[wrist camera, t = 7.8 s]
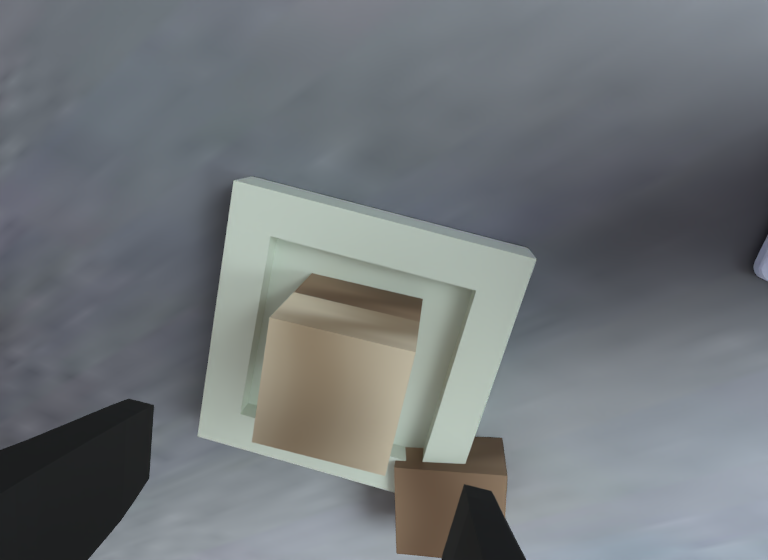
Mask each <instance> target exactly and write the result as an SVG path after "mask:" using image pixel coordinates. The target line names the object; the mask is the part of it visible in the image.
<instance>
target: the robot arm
mask: <svg viewBox="0 0 768 560" xmlns="http://www.w3.org/2000/svg"><path fill="white" fill-rule="evenodd" d="M753 267H754V272H755V274H756V275H757V276H758V277H760V278H762V279H764V280H766V281H768V236H767V238H766V240H765V242H764V244H763V246H762V248H761V250H760V252H759V254H758V256H757V258H756V260H755V263H754V266H753ZM153 411H154V405H151V404H147V403H143V402H140V401H136V400H132V399H127V400H124V401H121V402H118V403H116V404H113V405H111V406H108V407H106V408H103V409H101V410H98V411H96V412H94V413H91V414H89V415H87V416H84V417H82V418H79V419H77V420H75V421H72V422H70V423H67V424H65V425H63V426H60V427H58V428H55V429H53V430H50V431H48V432H46V433H43V434H41V435H38V436H36V437H33V438H31V439H28V440H26V441H23V442H21V443H18V444H15V445H13V446H10V447H7V448H5V449H2V450H0V560H88V559H89V557H90V556H91V555H92V554H93V553H94V552H95V550H96V549H97V548H98V547H99V546H100V545H101V543H102V542H103V541H104V540H105V539H106V537H107V536H108V535H109V534H110V533H111V532H112V530H113V529H114V528H115V527H116V526H117V524H118V523H119V522H120V521H121V519H122V518H123V517H124V515H125V514H126V512H127V511H128V509H129V508H130V506H131V505H132V504H133V502H134V501H135V499H136V498H137V496H138V495H139V493H140V491H141V490H142V488H143V487H144V485H145V484H146V482H147V481H148V479H149V472H150V457H151V441H152V426H153ZM442 560H526V558H525V556H524V554H523V553H522V551H521V549H520V547H519V545H518V543H517V541H516V539H515V537H514V535H513V533H512V531H511V529H510V527H509V525H508V523H507V521H506V519H505V517H504V515H503V513H502V511H501V508H500V506H499V504H498V502H497V500H496V498H495V496H494V494H493V493H492V491H490V490H486V489H482V488H478V487H474V486H470V485H466V484H464V486H463V489H462V492H461V496H460V499H459V502H458V505H457V509H456V512H455V515H454V518H453V522H452V525H451V528H450V531H449V535H448V538H447V541H446V544H445V548H444V551H443V554H442Z"/></svg>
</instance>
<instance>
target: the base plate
mask: <svg viewBox="0 0 768 560" xmlns="http://www.w3.org/2000/svg"><path fill="white" fill-rule="evenodd" d="M536 260H537V259H536V258H535V256H534V255H533V254H532V252H531V251H530V250H529V248H526V247H522V246H518V245H515V244H511V243H507V242H503V241H499V240H495V239H491V238H488V237H484V236H480V235H476V234H472V233H468V232H464V231H461V230H457V229H453V228H449V227H445V226H441V225H438V224H434V223H430V222H426V221H422V220H418V219H414V218H411V217H407V216H403V215H399V214H395V213H391V212H388V211H384V210H380V209H376V208H372V207H368V206H364V205H361V204H357V203H353V202H349V201H345V200H341V199H337V198H334V197H330V196H326V195H322V194H318V193H314V192H311V191H307V190H303V189H299V188H295V187H291V186H287V185H284V184H280V183H276V182H272V181H268V180H264V179H261V178H257V177H253V176H251V177H247V178H242V179H238V180H234V182H233V189H232V196H231V203H230V210H229V217H228V224H227V231H226V238H225V245H224V252H223V259H222V266H221V273H220V281H219V288H218V295H217V302H216V309H215V316H214V323H213V330H212V337H211V344H210V351H209V358H208V365H207V372H206V379H205V386H204V393H203V401H202V408H201V415H200V422H199V429H198V437H201V438H205V439H208V440H212V441H215V442H219V443H222V444H226V445H229V446H233V447H236V448H240V449H243V450H247V451H250V452H254V453H257V454H261V455H264V456H268V457H271V458H275V459H278V460H282V461H285V462H289V463H292V464H296V465H299V466H303V467H306V468H310V469H313V470H317V471H320V472H324V473H327V474H331V475H334V476H338V477H341V478H345V479H348V480H352V481H355V482H359V483H362V484H366V485H369V486H373V487H376V488H380V489H383V490H387V491H390V492H394V493H395V483H394V465H395V460H397V461H406V449H405V447H414V448H423V460H422V462H436V463H455V464H465V463H466V460H467V457H468V455H469V452H470V449H471V446H472V443H473V440H474V437H475V434H476V432H477V429H478V426H479V423H480V420H481V417H482V414H483V412H484V409H485V406H486V403H487V400H488V397H489V394H490V391H491V389H492V386H493V383H494V380H495V377H496V374H497V371H498V369H499V366H500V363H501V360H502V357H503V354H504V351H505V348H506V346H507V343H508V340H509V337H510V334H511V331H512V328H513V325H514V323H515V320H516V317H517V314H518V311H519V308H520V305H521V303H522V300H523V297H524V294H525V291H526V288H527V285H528V282H529V280H530V277H531V274H532V271H533V268H534V265H535V262H536ZM312 273H314V274H318V275H322V276H327V277H331V278H335V279H340V280H344V281H348V282H352V283H357V284H361V285H365V286H370V287H374V288H378V289H382V290H387V291H391V292H395V293H400V294H404V295H408V296H412V297H417V298H421V299H423V301H422V309H421V316H420V324H419V331H418V339H417V347H416V353H415V357H414V361H413V365H412V369H411V374H410V378H409V382H408V386H407V390H406V394H405V398H404V402H403V406H402V410H401V414H400V418H399V422H398V426H397V430H396V434H395V438H394V442H393V446H392V450H391V454H390V459H389V463H388V467H387V471H386V475H385V476H383V475H379V474H375V473H371V472H367V471H364V470H360V469H356V468H352V467H348V466H344V465H340V464H336V463H332V462H328V461H324V460H320V459H316V458H312V457H308V456H304V455H301V454H297V453H293V452H289V451H285V450H281V449H277V448H273V447H269V446H265V445H261V444H257V443H253V442H252V437H253V430H254V423H255V416H256V409H257V402H258V395H259V387H260V380H261V373H262V366H263V359H264V352H265V345H266V338H267V331H268V324H269V317H270V316H271V315H272V314H273V313H274V312H275V311H276V310H277V309H278V308H279V307H280V306H281V305H282V304H283V303H284V302H285V301H286V300H287V299H288V298H289V296H290V295H291V294H292V293H293V292H294V291H295V290H296V289H297V288H298V287H299V286H300V285H301V284H302V283H303V282H304V281H305V280H306V279H307V278H308V277H309V276H310V275H311V274H312Z"/></svg>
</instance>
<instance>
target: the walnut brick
mask: <svg viewBox="0 0 768 560" xmlns="http://www.w3.org/2000/svg"><path fill="white" fill-rule="evenodd" d="M405 449H406V461H397V460H395V465H394V483H395V516H396V550H397V554H407V555H417V556H428V557H438V558H442V554H443V551H444V548H445V544H446V541H447V538H448V535H449V531H450V528H451V525H452V522H453V518H454V515H455V512H456V509H457V505H458V502H459V499H460V496H461V492H462V489H463V486H464V484H466V485H470V486H474V487H478V488H482V489H486V490H490V491H492V493H493V494H494V496H495V498H496V500H497V502H498V504H499V506H500V508H501V511H502V513H503V515H504V517H505V509H506V492H507V469H506V462H505V455H504V447H503V440H502V438H493V437H474V440H473V443H472V446H471V449H470V452H469V455H468V457H467V460H466V463H465V464H455V463H436V462H422V460H423V448H414V447H405Z"/></svg>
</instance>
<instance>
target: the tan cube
mask: <svg viewBox="0 0 768 560" xmlns="http://www.w3.org/2000/svg"><path fill="white" fill-rule="evenodd" d="M422 301H423V299H421V298H417V297H412V296H408V295H404V294H400V293H395V292H391V291H387V290H382V289H378V288H374V287H370V286H365V285H361V284H357V283H352V282H348V281H344V280H340V279H335V278H331V277H327V276H322V275H318V274H314V273H312V274H311V275H310V276H309V277H308V278H307V279H306V280H305V281H304V282H303V283H302V284H301V285H300V286H299V287H298V288H297V289H296V290H295V291H294V292H293V293H292V294H291V295H290V296H289V298H288V299H287V300H286V301H285V302H284V303H283V304H282V305H281V306H280V307H279V308H278V309H277V310H276V311H275V312H274V313H273V314H272V315H271V316H270V317H269V324H268V331H267V338H266V345H265V352H264V359H263V366H262V373H261V380H260V387H259V395H258V402H257V409H256V416H255V423H254V430H253V437H252V442H253V443H257V444H261V445H265V446H269V447H273V448H277V449H281V450H285V451H289V452H293V453H297V454H301V455H304V456H308V457H312V458H316V459H320V460H324V461H328V462H332V463H336V464H340V465H344V466H348V467H352V468H356V469H360V470H364V471H367V472H371V473H375V474H379V475H383V476H385V475H386V471H387V467H388V463H389V459H390V454H391V450H392V446H393V442H394V438H395V434H396V430H397V426H398V422H399V418H400V414H401V410H402V406H403V402H404V398H405V394H406V390H407V386H408V382H409V378H410V374H411V369H412V365H413V361H414V357H415V353H416V347H417V339H418V331H419V324H420V316H421V309H422Z"/></svg>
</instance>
